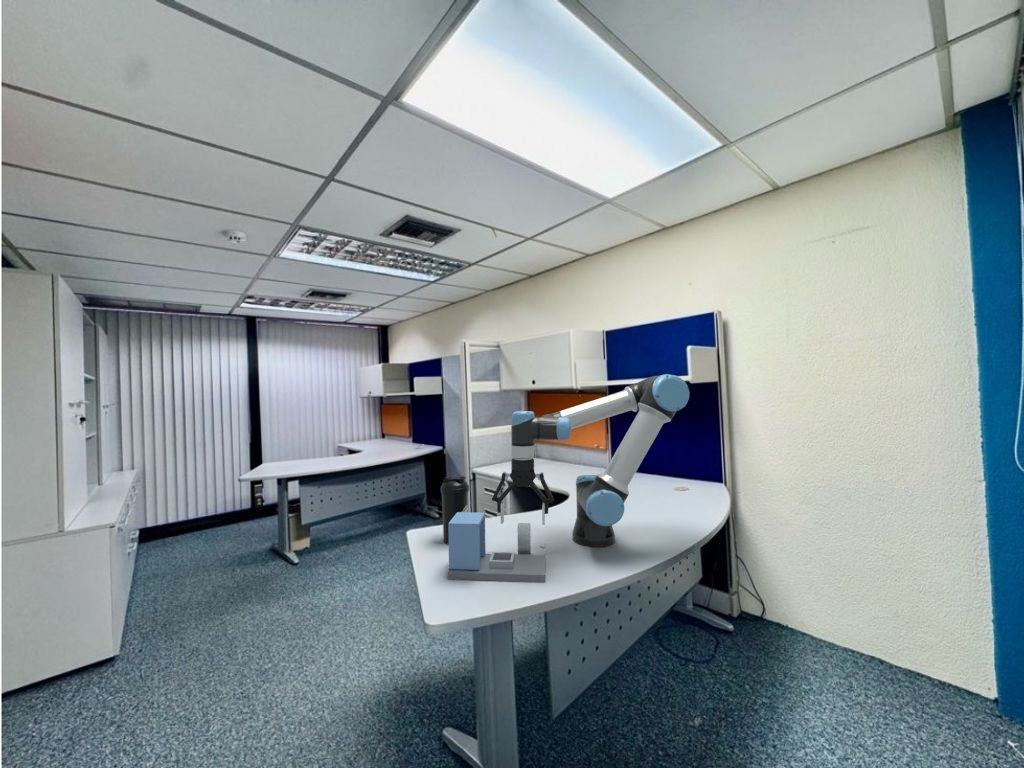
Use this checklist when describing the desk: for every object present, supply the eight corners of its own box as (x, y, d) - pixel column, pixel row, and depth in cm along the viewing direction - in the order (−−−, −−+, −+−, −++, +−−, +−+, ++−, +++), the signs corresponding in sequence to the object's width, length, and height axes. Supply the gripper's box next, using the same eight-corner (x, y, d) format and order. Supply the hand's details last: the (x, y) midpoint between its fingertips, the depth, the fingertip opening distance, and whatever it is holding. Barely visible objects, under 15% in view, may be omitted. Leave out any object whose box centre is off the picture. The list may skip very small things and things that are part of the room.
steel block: (530, 553, 132) (530, 523, 132) (530, 558, 128) (529, 527, 128) (518, 553, 132) (518, 522, 133) (517, 558, 128) (517, 526, 129)
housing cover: (485, 554, 126) (484, 512, 126) (479, 569, 115) (478, 523, 115) (457, 553, 127) (457, 512, 127) (448, 568, 116) (448, 523, 116)
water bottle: (464, 546, 139) (463, 480, 139) (436, 545, 141) (436, 479, 141) (473, 536, 149) (472, 474, 149) (447, 534, 151) (446, 474, 151)
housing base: (545, 561, 126) (545, 548, 126) (545, 582, 112) (545, 567, 112) (458, 559, 128) (458, 546, 128) (447, 579, 114) (447, 565, 114)
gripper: (560, 456, 134) (560, 520, 133) (487, 455, 136) (487, 518, 135) (561, 460, 126) (561, 528, 126) (483, 459, 129) (483, 525, 128)
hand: (522, 523), depth 131 cm, fingers open, 13 cm apart
